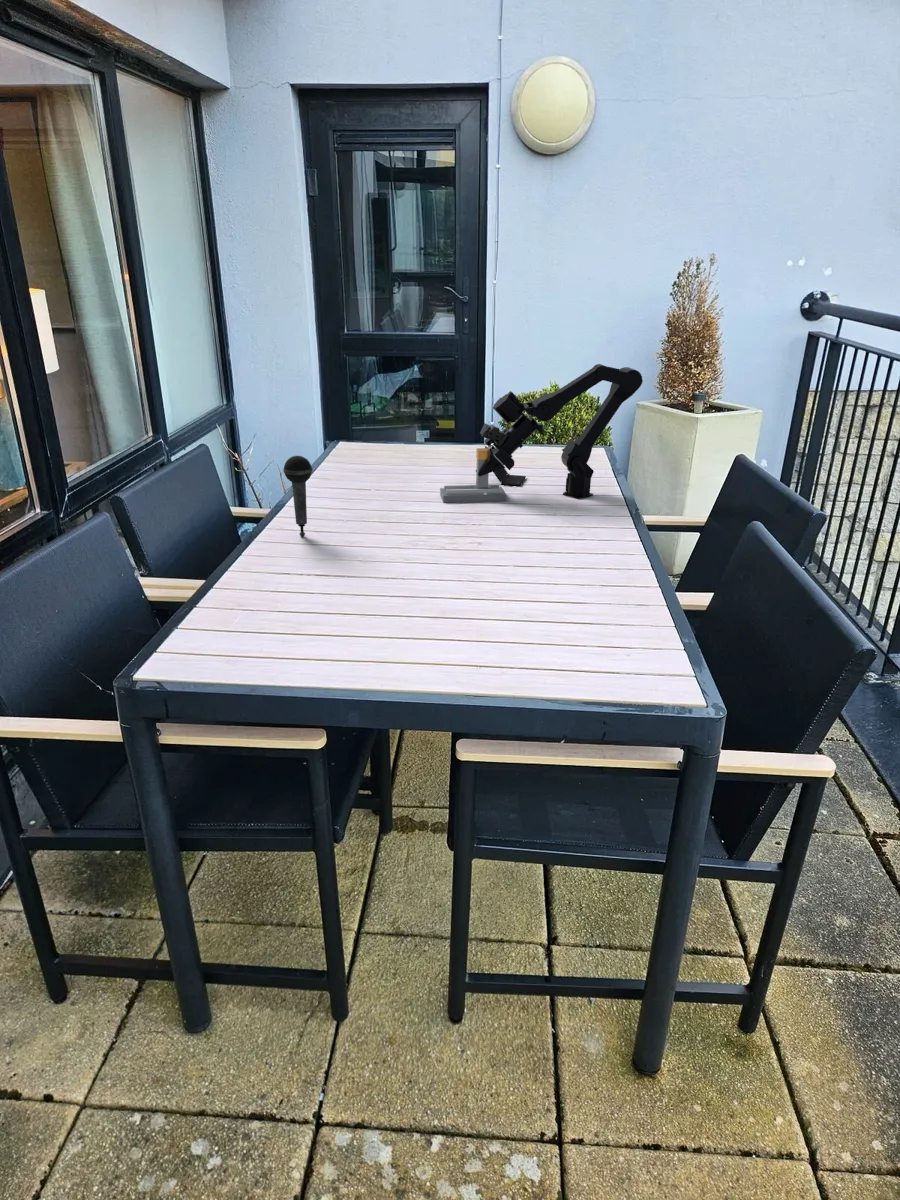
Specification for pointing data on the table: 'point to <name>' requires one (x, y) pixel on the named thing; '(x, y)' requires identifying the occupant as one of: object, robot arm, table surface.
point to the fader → (482, 457)
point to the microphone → (299, 486)
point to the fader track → (471, 494)
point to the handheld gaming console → (508, 478)
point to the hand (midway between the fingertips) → (477, 473)
